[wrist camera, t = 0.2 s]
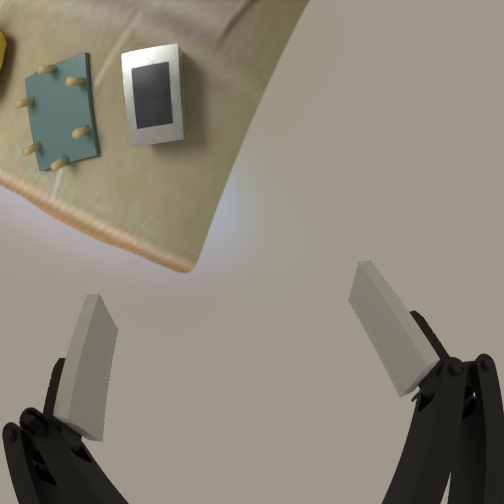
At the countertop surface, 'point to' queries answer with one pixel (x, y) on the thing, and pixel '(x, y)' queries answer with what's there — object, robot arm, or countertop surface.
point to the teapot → (2, 48)
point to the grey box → (155, 95)
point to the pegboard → (61, 113)
